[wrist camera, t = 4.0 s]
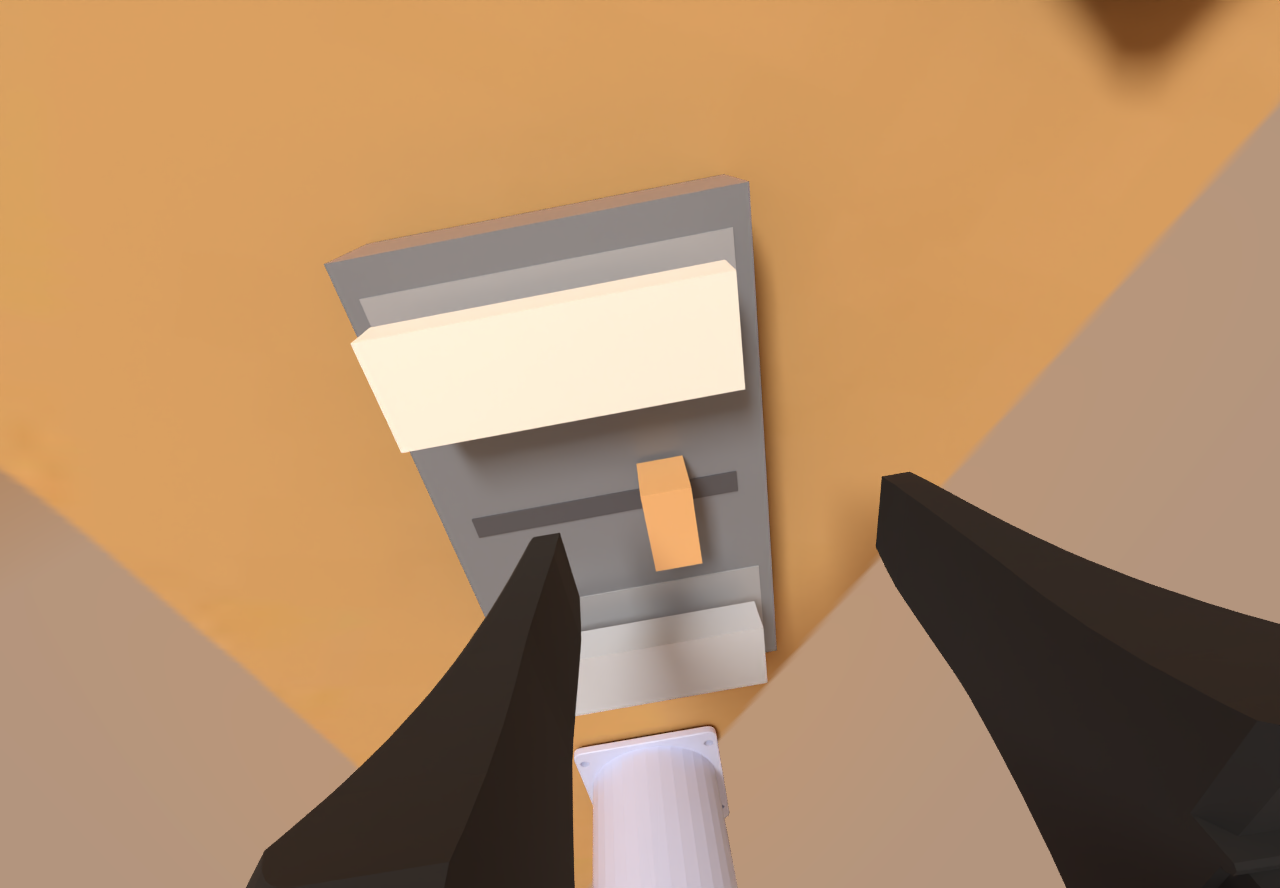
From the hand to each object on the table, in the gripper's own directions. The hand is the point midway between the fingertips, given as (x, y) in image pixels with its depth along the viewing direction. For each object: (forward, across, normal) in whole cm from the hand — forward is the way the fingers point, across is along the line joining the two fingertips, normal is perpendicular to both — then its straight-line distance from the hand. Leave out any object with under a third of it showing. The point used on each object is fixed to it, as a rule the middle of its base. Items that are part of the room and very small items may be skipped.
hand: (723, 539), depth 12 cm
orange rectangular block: (+5, +1, +2) cm, 6 cm away
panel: (+8, +3, +2) cm, 9 cm away
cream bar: (+4, +3, -4) cm, 6 cm away
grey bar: (+4, +3, +8) cm, 10 cm away
